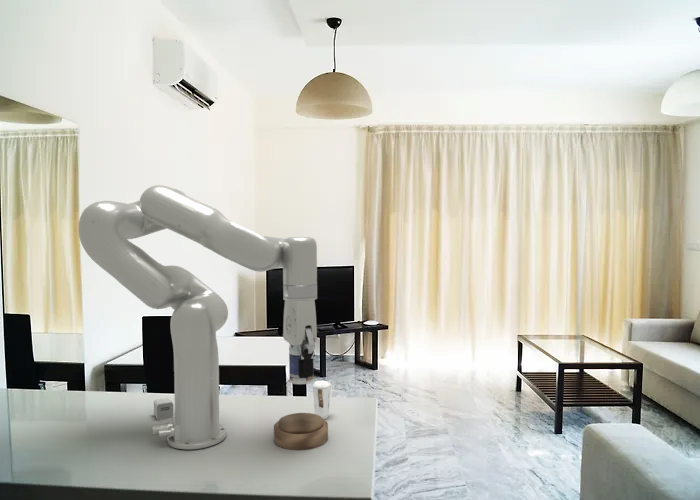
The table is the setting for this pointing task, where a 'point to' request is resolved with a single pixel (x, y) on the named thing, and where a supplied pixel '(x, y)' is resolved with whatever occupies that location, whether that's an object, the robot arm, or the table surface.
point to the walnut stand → (300, 431)
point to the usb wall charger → (163, 408)
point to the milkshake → (322, 398)
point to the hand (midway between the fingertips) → (301, 372)
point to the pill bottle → (293, 367)
